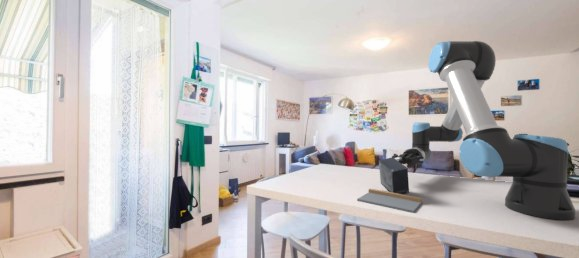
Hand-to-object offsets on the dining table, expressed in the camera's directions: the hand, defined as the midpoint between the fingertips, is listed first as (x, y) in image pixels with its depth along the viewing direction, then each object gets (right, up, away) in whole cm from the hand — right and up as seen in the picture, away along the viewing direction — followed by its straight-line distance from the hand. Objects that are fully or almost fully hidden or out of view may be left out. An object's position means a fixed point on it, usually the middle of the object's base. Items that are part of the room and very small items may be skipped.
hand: (393, 162), depth 97 cm
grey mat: (-7, -12, -13) cm, 19 cm away
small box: (-1, -10, -3) cm, 10 cm away
